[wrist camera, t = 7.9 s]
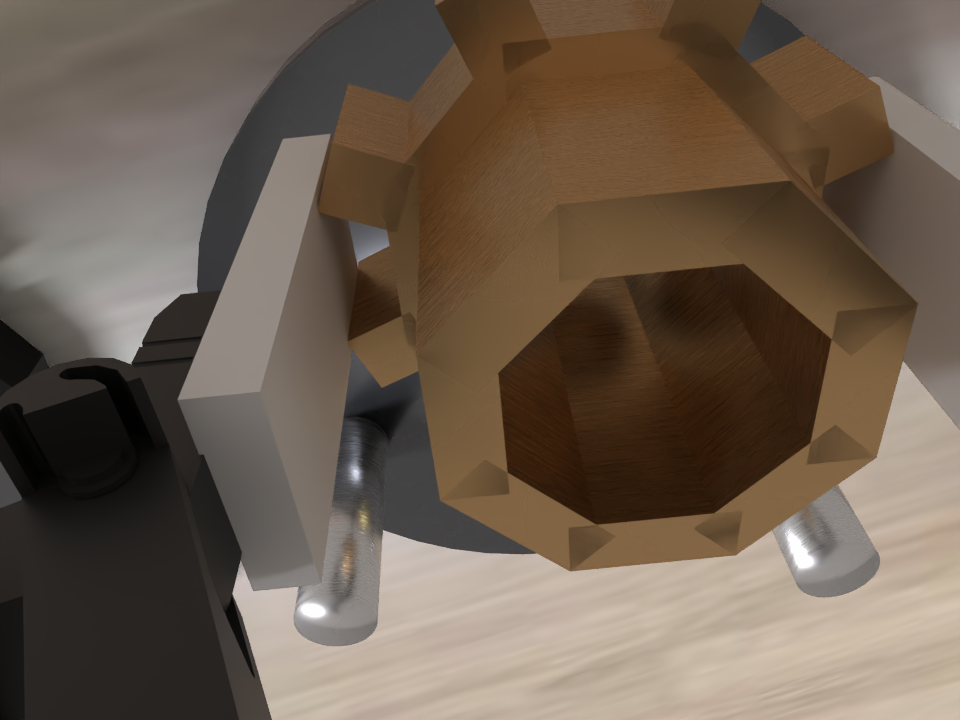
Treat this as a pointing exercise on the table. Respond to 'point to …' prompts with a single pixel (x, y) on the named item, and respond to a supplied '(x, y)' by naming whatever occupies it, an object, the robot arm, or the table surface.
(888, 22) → the table surface
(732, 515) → the planet gear
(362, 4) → the carrier
